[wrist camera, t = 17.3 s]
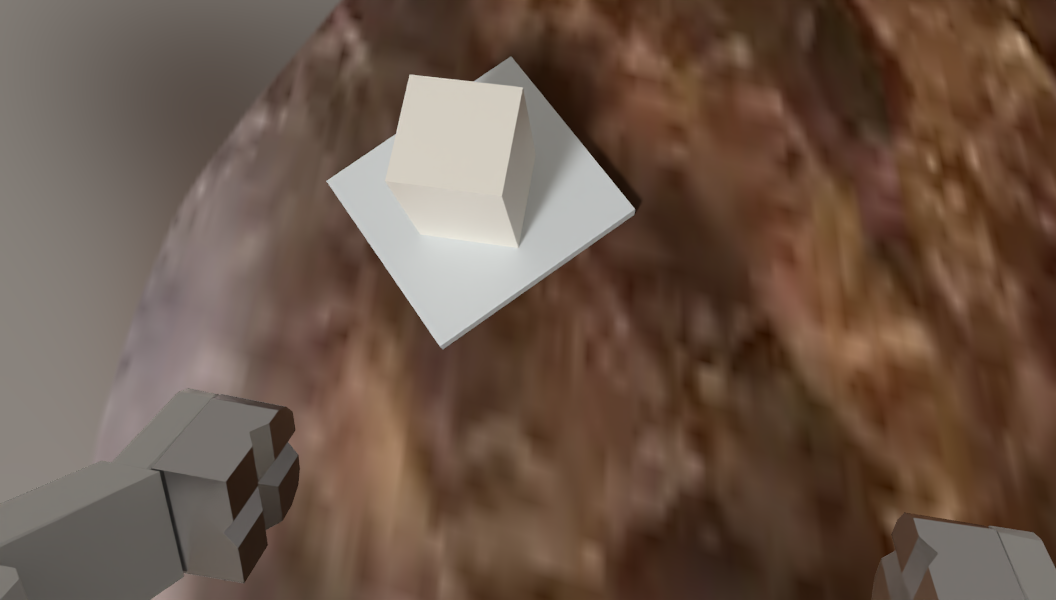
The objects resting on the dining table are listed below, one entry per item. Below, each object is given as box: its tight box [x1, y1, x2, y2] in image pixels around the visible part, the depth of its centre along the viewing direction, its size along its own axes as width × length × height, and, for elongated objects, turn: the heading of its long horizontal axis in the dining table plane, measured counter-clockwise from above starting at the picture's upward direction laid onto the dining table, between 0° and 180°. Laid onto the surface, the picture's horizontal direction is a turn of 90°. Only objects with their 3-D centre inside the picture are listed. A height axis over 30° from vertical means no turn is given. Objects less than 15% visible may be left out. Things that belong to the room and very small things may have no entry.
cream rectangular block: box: [385, 75, 536, 248], centre depth 42 cm, size 6×6×8 cm
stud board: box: [327, 57, 635, 349], centre depth 43 cm, size 13×12×6 cm
